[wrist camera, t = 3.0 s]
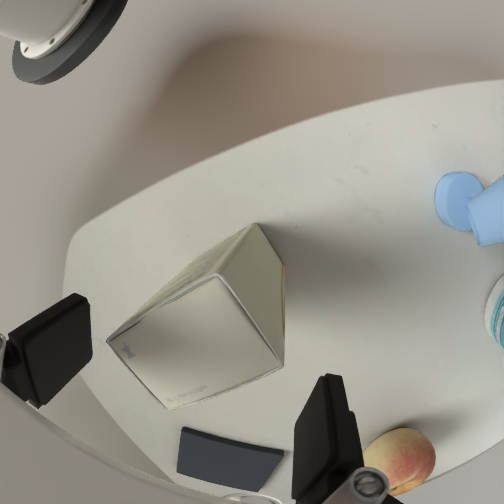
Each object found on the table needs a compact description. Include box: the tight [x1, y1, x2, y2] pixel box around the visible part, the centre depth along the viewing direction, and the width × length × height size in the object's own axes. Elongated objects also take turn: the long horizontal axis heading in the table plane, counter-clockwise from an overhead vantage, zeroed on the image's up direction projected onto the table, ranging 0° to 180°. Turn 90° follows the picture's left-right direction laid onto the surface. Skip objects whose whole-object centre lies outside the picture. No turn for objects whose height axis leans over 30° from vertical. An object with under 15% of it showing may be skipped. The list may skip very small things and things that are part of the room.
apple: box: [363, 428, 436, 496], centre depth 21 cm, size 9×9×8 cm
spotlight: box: [435, 172, 504, 247], centre depth 13 cm, size 5×10×7 cm
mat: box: [177, 427, 284, 492], centre depth 28 cm, size 12×12×1 cm
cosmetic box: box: [106, 223, 285, 411], centre depth 16 cm, size 6×4×12 cm
